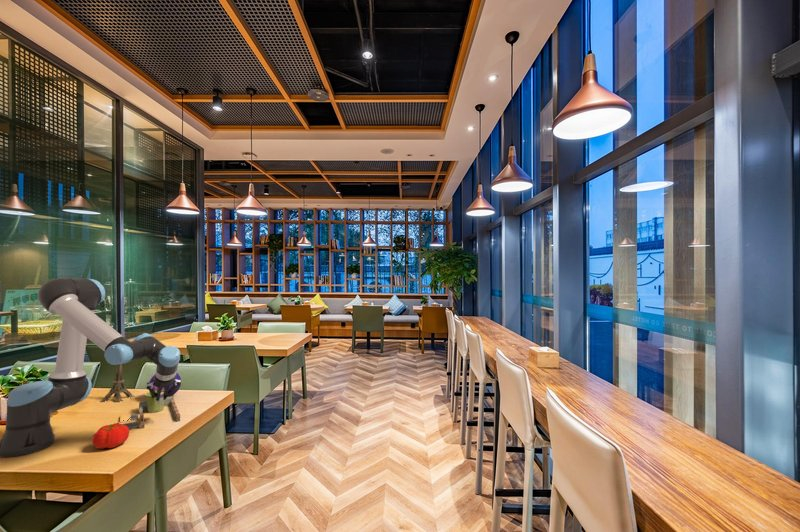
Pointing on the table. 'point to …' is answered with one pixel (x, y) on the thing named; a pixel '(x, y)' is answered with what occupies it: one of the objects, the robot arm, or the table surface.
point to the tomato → (110, 436)
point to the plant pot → (153, 403)
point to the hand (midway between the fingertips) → (160, 402)
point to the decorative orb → (169, 386)
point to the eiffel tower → (118, 387)
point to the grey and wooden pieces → (144, 406)
